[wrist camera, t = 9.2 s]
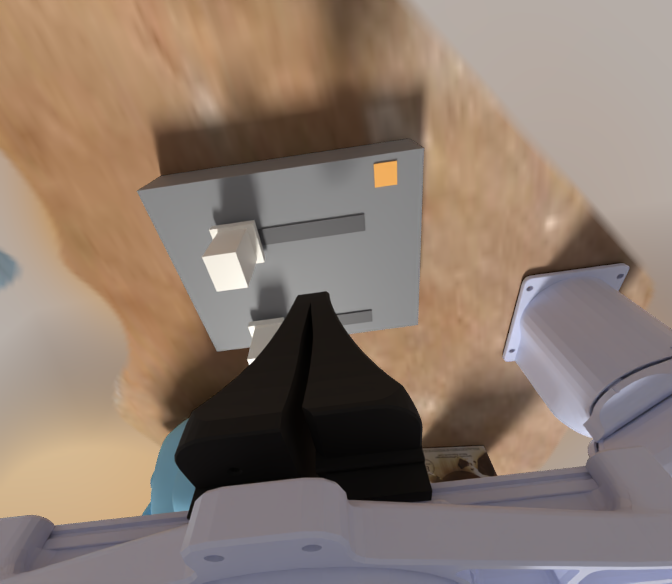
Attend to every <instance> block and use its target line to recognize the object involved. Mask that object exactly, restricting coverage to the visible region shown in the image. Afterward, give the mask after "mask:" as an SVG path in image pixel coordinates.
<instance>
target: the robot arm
mask: <svg viewBox="0 0 672 584" xmlns="http://www.w3.org/2000/svg"><path fill="white" fill-rule="evenodd" d="M628 271H629V266H628V265H626V264H624V263H619V264H612V265H605V266H597V267H590V268H583V269H575V270H568V271H561V272H554V273H546V274H539V275H532V276H528V277H526V278H525V279H524V280H523V282H522V286H521V289H520V293H519V297H518V301H517V304H516V308H515V312H514V316H513V319H512V323H511V327H510V331H509V334H508V338H507V342H506V346H505V349H504V353H503V359H504V360H505V361H506V362H510V361H516V363H517V364H518V366H519V367H520V368H521V370H522V371H523V373H524V374H525V375H526V377H527V378H528V380H529V381H530V383H531V384H532V385H533V387H534V388H535V390H536V391H537V392H538V394H539V395H540V397H541V398H542V400H543V401H544V402H545V404H546V405H547V407H548V408H549V409H550V411H551V412H552V413H553V414H554V416H555V417H557V418H558V419H559V420H560V421H561V422H562V423H564V424H565V425H566V426H568V427H569V428H571V429H572V430H574V431H576V432H578V433H580V434H582V435H585V436H587V437H591V438H593V440H592V441H591V442H590V443H589V445H588V455H589V459H588V460H587V463H586V466H582V467H573V468H563V469H555V470H547V471H537V472H528V473H519V474H510V475H501V476H492V477H483V478H474V479H465V480H456V481H447V482H438V483H430V480H429V476H428V473H427V469H426V466H425V456H424V453H423V449H422V428H423V427H422V421H421V418H420V416H419V413H418V411H417V409H416V407H415V405H414V403H413V401H412V400H411V398H410V396H409V395H408V393H407V392H406V390H405V388H404V387H403V386H402V385H401V384H400V383H398V382H397V381H395V380H394V379H393V378H391V377H390V376H389V375H387V374H386V373H385V372H384V371H383V370H381V369H380V368H379V367H378V366H377V365H376V364H375V363H374V362H373V361H372V360H371V359H370V358H369V357H368V356H367V355H365V354H364V352H363V351H362V350H361V349H360V348H359V347H358V346H357V344H356V343H355V342H354V341H353V339H352V338H351V337H350V335H349V334H348V333H347V331H346V330H345V328H344V327H343V325H342V323H341V322H340V320H339V318H338V316H337V315H336V313H335V311H334V308H333V306H332V304H331V300H330V294H329V293H328V292H327V291H324V292H317V293H309V294H302V295H298V296H297V297H296V299H295V301H294V303H293V305H292V307H291V308H290V310H289V312H288V314H287V316H286V317H285V319H284V321H283V322H282V324H281V325H280V327H279V329H278V330H277V332H276V333H275V334H274V336H273V337H272V339H271V340H270V341H269V343H268V344H267V345H266V347H265V348H264V349H263V350H262V352H261V353H260V354H259V355H258V356H257V357H256V359H255V360H254V361H253V362H252V363H251V364H250V365H249V366H248V367H247V368H246V369H245V370H244V371H243V372H242V373H241V374H240V375H239V376H237V377H236V378H235V379H234V380H233V381H232V382H231V383H229V384H228V385H227V386H226V387H225V388H223V389H222V390H221V391H220V392H218V393H217V394H216V395H214V396H213V397H212V398H210V399H209V400H207V401H206V402H205V403H203V404H202V405H200V406H199V407H198V408H196V409H195V410H193V411H192V413H191V415H190V417H189V419H188V421H187V423H186V426H185V428H184V431H183V434H182V436H181V439H180V441H179V444H178V447H177V449H176V452H175V455H174V459H175V463H176V465H177V466H178V468H179V470H180V471H181V472H182V473H183V474H184V475H185V477H186V478H187V479H188V480H189V481H190V482H191V483H192V485H193V486H194V487H195V491H194V495H193V498H192V501H191V505H190V508H189V511H180V512H171V513H162V514H153V515H144V516H136V517H127V518H117V519H108V520H99V521H91V522H82V523H73V524H64V525H56V526H54V524H53V523H52V522H51V521H50V520H48V519H46V518H44V517H41V516H36V515H26V516H17V517H9V518H0V584H672V329H671V328H669V327H668V326H666V325H665V324H664V323H662V322H661V321H659V320H658V319H656V318H655V317H654V316H652V315H651V314H649V313H648V312H647V311H645V310H644V309H642V308H641V307H639V306H638V305H637V304H635V303H634V302H632V301H631V300H630V299H628V298H627V297H625V296H624V295H622V294H621V293H620V292H618V291H619V289H620V287H621V285H622V283H623V281H624V279H625V277H626V275H627V273H628ZM529 286H530V287H529ZM528 287H529V288H528Z"/></svg>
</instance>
